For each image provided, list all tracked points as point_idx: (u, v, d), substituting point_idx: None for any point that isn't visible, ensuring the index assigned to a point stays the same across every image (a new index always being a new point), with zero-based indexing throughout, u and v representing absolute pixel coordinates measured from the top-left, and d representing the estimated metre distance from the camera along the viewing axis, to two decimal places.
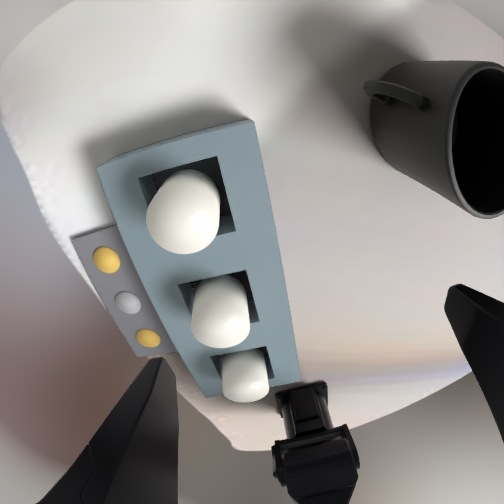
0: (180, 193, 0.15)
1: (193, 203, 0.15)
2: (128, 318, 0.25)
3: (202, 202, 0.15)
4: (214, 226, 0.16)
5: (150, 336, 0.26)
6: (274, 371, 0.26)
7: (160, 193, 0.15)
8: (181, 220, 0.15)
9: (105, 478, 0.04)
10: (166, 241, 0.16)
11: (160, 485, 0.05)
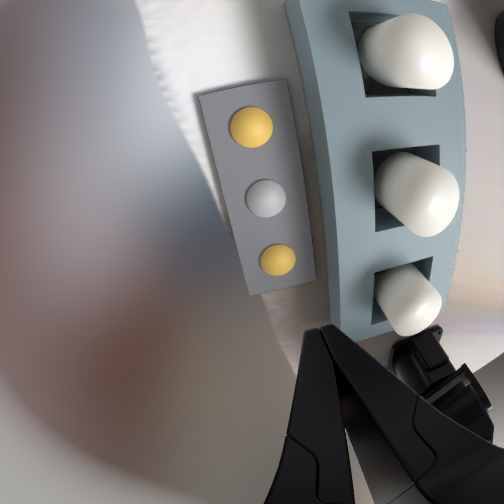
0: (424, 23, 0.09)
1: (435, 37, 0.09)
2: (258, 225, 0.19)
3: (442, 39, 0.09)
4: (450, 66, 0.10)
5: (282, 256, 0.20)
6: None
7: (407, 15, 0.08)
8: (424, 49, 0.09)
9: (341, 462, 0.04)
10: (408, 67, 0.10)
11: None
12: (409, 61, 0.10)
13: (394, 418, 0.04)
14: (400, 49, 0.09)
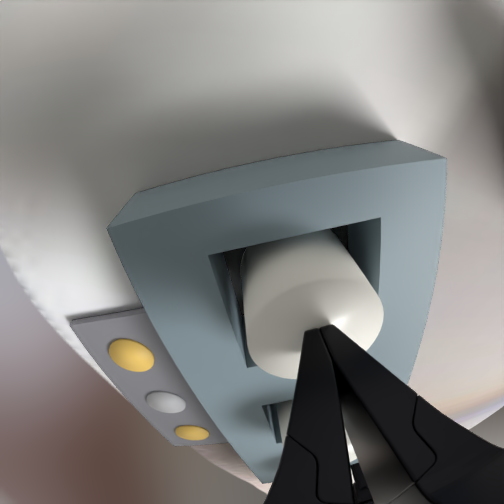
0: (330, 292, 0.07)
1: (349, 307, 0.07)
2: (165, 415, 0.16)
3: (365, 305, 0.07)
4: (370, 338, 0.08)
5: (195, 432, 0.18)
6: None
7: (289, 292, 0.07)
8: None
9: (341, 462, 0.04)
10: (280, 365, 0.08)
11: None
12: (283, 359, 0.08)
13: (394, 418, 0.04)
14: (267, 350, 0.08)
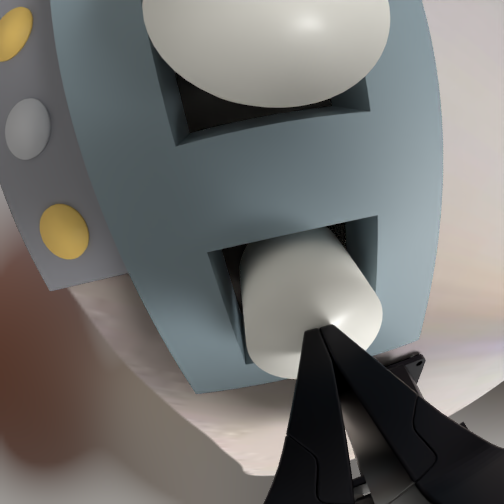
0: None
1: None
2: (26, 175, 0.09)
3: None
4: None
5: (66, 225, 0.10)
6: None
7: None
8: None
9: (340, 463, 0.04)
10: None
11: None
12: None
13: (394, 418, 0.04)
14: None
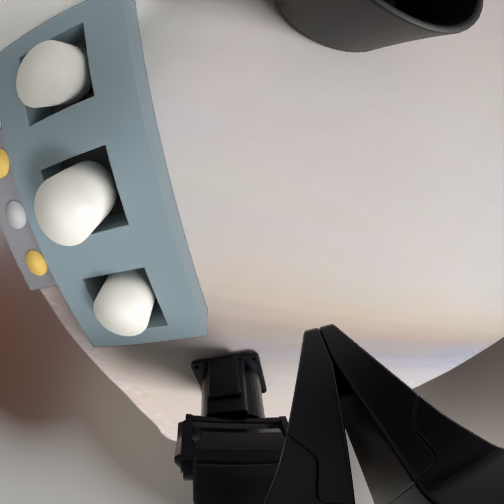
0: (43, 47, 0.10)
1: (51, 54, 0.10)
2: (17, 235, 0.18)
3: (58, 51, 0.10)
4: (65, 72, 0.11)
5: (37, 260, 0.20)
6: (164, 313, 0.20)
7: (29, 51, 0.09)
8: (41, 72, 0.10)
9: (341, 462, 0.04)
10: (27, 96, 0.11)
11: None
12: (28, 91, 0.11)
13: (394, 418, 0.04)
14: (22, 85, 0.10)
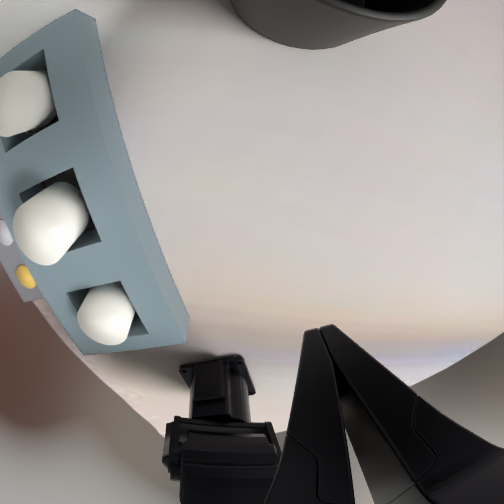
0: (8, 78, 0.10)
1: (15, 84, 0.10)
2: (7, 251, 0.19)
3: (21, 81, 0.10)
4: (29, 101, 0.11)
5: (26, 274, 0.20)
6: (144, 323, 0.20)
7: None
8: (8, 102, 0.10)
9: (341, 462, 0.04)
10: None
11: None
12: None
13: (394, 418, 0.04)
14: None
